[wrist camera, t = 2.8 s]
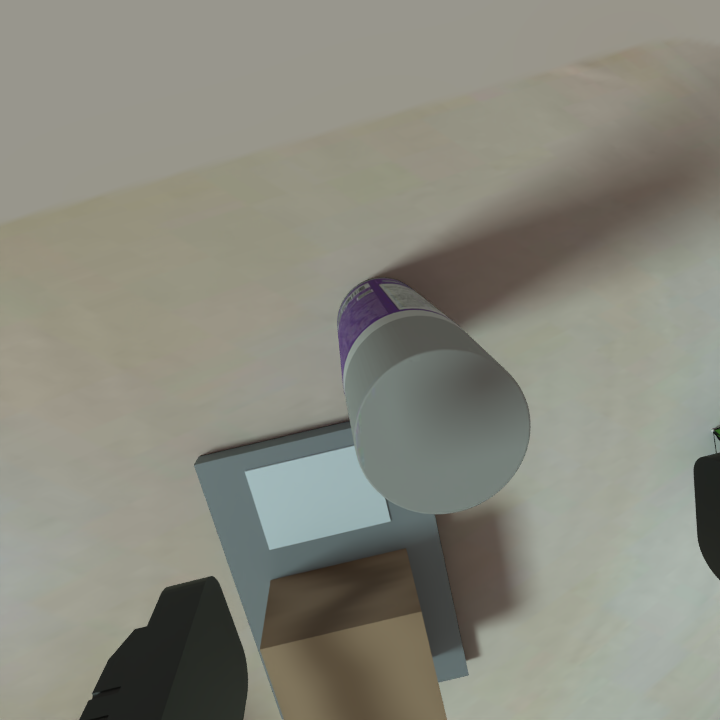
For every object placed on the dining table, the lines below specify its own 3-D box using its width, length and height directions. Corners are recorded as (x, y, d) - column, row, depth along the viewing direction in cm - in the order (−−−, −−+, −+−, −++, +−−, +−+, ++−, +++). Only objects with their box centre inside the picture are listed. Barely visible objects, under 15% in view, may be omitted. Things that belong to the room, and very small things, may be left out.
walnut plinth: (406, 548, 30) (421, 611, 25) (431, 657, 32) (450, 735, 27) (270, 580, 30) (259, 649, 25) (305, 687, 32) (301, 770, 27)
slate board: (410, 406, 29) (413, 413, 28) (464, 662, 33) (469, 676, 32) (198, 456, 29) (193, 465, 28) (283, 705, 33) (282, 721, 32)
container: (353, 375, 28) (381, 542, 14) (324, 293, 27) (322, 379, 12) (435, 348, 28) (553, 486, 13) (411, 264, 27) (511, 317, 12)
